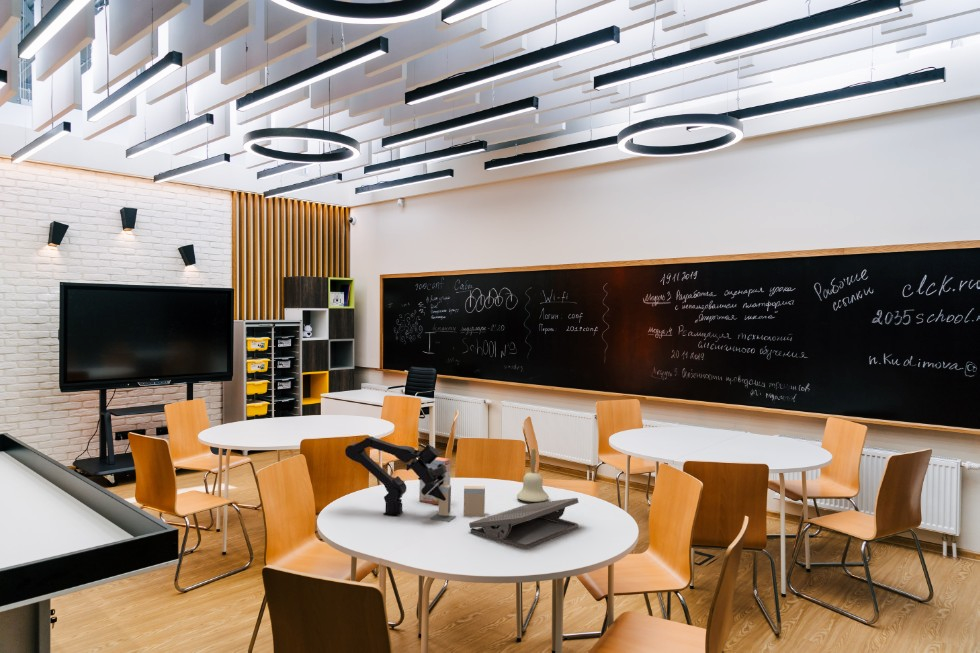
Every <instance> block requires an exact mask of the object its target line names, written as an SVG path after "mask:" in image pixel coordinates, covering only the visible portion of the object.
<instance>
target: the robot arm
mask: <svg viewBox="0 0 980 653" xmlns="http://www.w3.org/2000/svg"><path fill="white" fill-rule="evenodd" d="M367 448H372V449H375V450H377V451H381V452H382V453H383V452H384V453H387V454H389V455H392V456H394V457H395V458H396V459H398V461H399V460H400V461H402V462H403V463H407V464H406V471H409V470H412V471H413V472H414V473H415V474H416V475H417V477H418V480H419V481H420V480H422V481H423V482H424V483H425V486H424V487H423V488H422V489H421V492H422V494H423V495H426V494H427V493H428V492H429V493H428V495H431V496H434V497H436V498H439V499H441V500H443V501H445V500H446V498H445V496H444V495H443V493H442V492H441V491H440V489H439V487H440V486H441V485H442V484H444V479H443V478H444V477H446V476H445V475H444V474H445V473H446V472H447V471H446V466H445V465H443V464H442V463H441V464H439V465H438V468H436V469H432V468H431V467H430V468H428V466H427V465H426V464H431V463H432V462H433V461H434V460H435V459H436V458H437V457H439V456H440V453H439V451H438V450H437V448H436V447H434V446H432V445H431V444H427V445H426V446H425V447H424V448H423V449H422V450H419V449H415V448H414V447H413V446H408V445H397V444H393V443H391V442H388V441H385V440H381V439H379V438H376V437H374V436H367V437H365V438H364V439H363V440H362V441H359V442H354V443H351V444H350V445H347V446H346V447H345V450H344V454H345V456H346V457H347V458H348V459H350V460H351V461H353V462H356V463H358V464H360V465H361V466H362V467H364V468H365V469H366V470H367V471H368V472H369V473H371V475H372V476H374V477H375V479H377V480H378V481H379V482H380V483H382V484H383V486H384V488H385V490H386V492H387V493H386V494H385V496H383V499H384V502H385V508H384V510H385V512H383V515H384V516H390V517H391V516H393V517H397V516H399V515H401V514H403V513H404V511H403V502H402V500H403V499H402V498H403V496H404V494H405V493H406V492H407V484H406V483H405V480H402V479H401V478H400V476H398V475H397V476H396V477H393V476H392V475H390V474H389V472H387V471H386V470H385V469H383V468H382V467H381V466H380V465H379V464H378V463H377V462H376V461H374V459H372V458H371V457H370V455H368V452H367V451H366V449H367ZM417 458H418V459H417ZM410 461H411V462H410ZM409 462H410V463H409ZM442 479H443V480H442Z"/></svg>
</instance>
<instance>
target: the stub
mask: <svg viewBox="0 0 980 653" xmlns="http://www.w3.org/2000/svg"><path fill="white" fill-rule="evenodd" d="M439 489H440V491H441V492H442V493H443V495H444V496H445V498H446V500H445V501H443V500H441V499H439V505H438V514H439V515H446V516H448V515H450V514H451V503H452V502H451V501H452V484H450V485H445V484H442V485H441V486H440V487H439Z"/></svg>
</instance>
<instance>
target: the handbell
mask: <svg viewBox="0 0 980 653" xmlns="http://www.w3.org/2000/svg"><path fill="white" fill-rule="evenodd" d="M536 453H537V452H536V448H535V447H532V448H531V450H530V470H531V471H530V472H527V473H526V474H525V475H524V476H523V479H522V484H523V485H522V489H521V490H520V491H519V492H518V493H517V494H516V498H517V499H519V500H521V501H523V502H524V501H525V502H532V503H533V502H534V503H539V502H546V501H547V500H548V499H549V494H548V493H547V492H546V491H545V490H544V487H543V477H542V475H541V474H540V473H538V472H535V470H536V465H537V455H536Z"/></svg>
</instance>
